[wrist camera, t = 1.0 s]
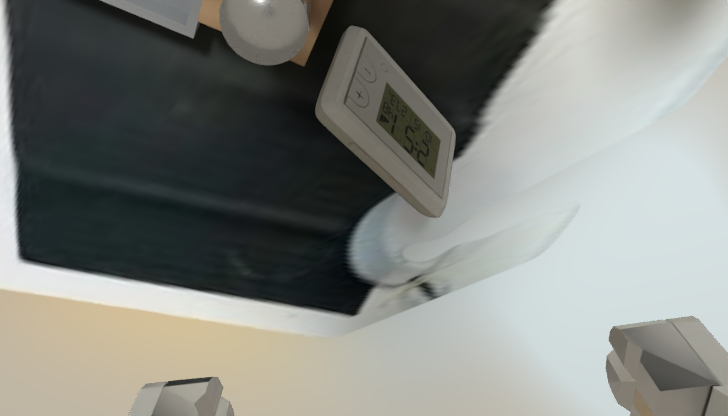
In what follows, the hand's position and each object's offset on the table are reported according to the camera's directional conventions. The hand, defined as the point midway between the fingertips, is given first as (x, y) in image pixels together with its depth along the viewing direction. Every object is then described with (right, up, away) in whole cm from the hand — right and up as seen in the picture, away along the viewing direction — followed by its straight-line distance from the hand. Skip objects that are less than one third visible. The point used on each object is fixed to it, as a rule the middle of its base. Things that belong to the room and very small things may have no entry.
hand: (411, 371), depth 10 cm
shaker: (-8, +20, +27) cm, 35 cm away
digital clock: (+1, +14, +38) cm, 41 cm away
